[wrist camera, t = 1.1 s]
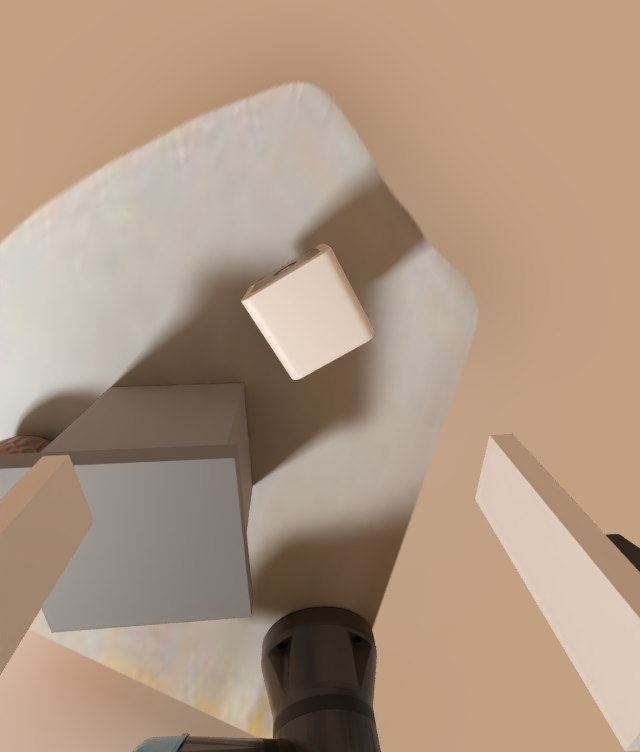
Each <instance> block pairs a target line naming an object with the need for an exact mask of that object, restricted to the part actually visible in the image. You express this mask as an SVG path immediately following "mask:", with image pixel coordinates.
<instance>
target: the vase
mask: <svg viewBox="0 0 640 752" xmlns="http://www.w3.org/2000/svg"><path fill="white" fill-rule="evenodd" d="M50 443H51V441H49V440H46V439H44V438H41V437H36V436H17V437H12V438H9V439H6V440H3V441H0V455H1V454H20V453H40V452H41V451H42V450H43V449H45V448H46V447H47V446H48V445H49V444H50Z"/></svg>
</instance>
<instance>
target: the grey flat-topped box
mask: <svg viewBox="0 0 640 752" xmlns="http://www.w3.org/2000/svg"><path fill="white" fill-rule="evenodd" d="M56 455H69V456H70V459H71V461H72V464H73V466H74V469H75V472H76V474H77V477H78V479H79V482H80V485H81V487H82V490H83V492H84V495H85V498H86V500H87V503H88V505H89V508H90V510H91V513H92V516H93V518H94V522H93V524H92V525H91V527H90V529H89V530H88V532H87V534H86V535H85V537H84V539H83V540H82V542H81V543H80V545H79V547H78V548H77V550H76V552H75V553H74V555H73V557H72V558H71V560H70V561H69V563H68V565H67V566H66V568H65V570H64V571H63V573H62V575H61V576H60V578H59V580H58V581H57V583H56V584H55V586H54V588H53V589H52V591H51V593H50V594H49V596H48V598H47V599H46V601H45V602H44V604H43V606H42V607H41V608H42V611H43V613H44V615H45V618H46V620H47V622H48V625H49V627H50V629H51V632H52V633H53V632H65V631H78V630H91V629H104V628H116V627H129V626H142V625H155V624H167V623H180V622H193V621H206V620H218V619H231V618H244V617H251V614H252V603H253V593H252V583H251V573H250V563H249V553H248V543H247V533H246V532H247V525H248V517H249V510H250V502H251V495H252V487H253V485H252V474H251V462H250V450H249V439H248V427H247V415H246V404H245V392H244V383H224V384H192V385H160V386H128V387H110V388H109V389H108V390H107V391H106V392H105V393H104V394H103V395H102V396H101V397H99V398H98V399H97V400H96V401H95V402H94V403H93V404H92V405H91V406H90V407H89V408H88V409H87V410H85V411H84V412H83V413H82V414H81V415H80V416H79V417H78V418H77V419H76V420H75V421H74V422H73V423H71V424H70V425H69V426H68V427H67V428H66V429H65V430H64V431H63V432H62V433H61V434H60V435H59V436H57V437H56V438H55V439H54V440H53V441H52V442H51V443H50V444H49V445H48V446H47V447H46V448H45V449H43V450H42V451H41V452H40V453H20V454H1V455H0V500H1V499H2V498H3V497H4V496H5V495H6V494H7V493H8V492H9V491H10V490H11V489H12V488H13V487H14V486H15V485H16V484H17V483H18V481H19V480H20V479H21V478H22V477H23V476H24V475H25V474H26V473H27V472H28V471H29V470H30V469H31V468H32V467H33V466H34V465H35V464H36V463H37V462H38V461H39V460H40V459H41V457H42V456H56Z"/></svg>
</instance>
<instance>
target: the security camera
mask: <svg viewBox="0 0 640 752" xmlns="http://www.w3.org/2000/svg"><path fill="white" fill-rule="evenodd" d="M241 302H242V304H243V305H244V307H245V308H246V310H247V311H248V313H249V314H250V316H251V317H252V319H253V320H254V322H255V323H256V325H257V326H258V328H259V329H260V331H261V333H262V334H263V336H264V337H265V339H266V340H267V342H268V343H269V345H270V346H271V348H272V349H273V351H274V352H275V354H276V355H277V357H278V358H279V360H280V361H281V363H282V365H283V366H284V368H285V369H286V371H287V372H288V374H289V375H290V377H291V378H292V380H298V379H301V378H303V377H304V376H306V375H308V374H310V373H312V372H314V371H315V370H317V369H319V368H321V367H323V366H324V365H326V364H328V363H330V362H332V361H333V360H335V359H337V358H339V357H341V356H342V355H344V354H346V353H348V352H350V351H351V350H353V349H355V348H357V347H359V346H360V345H362V344H364V343H366V342H368V341H369V340H371V339H372V338H373V337H374V336H375V331H374V329H373V327H372V325H371V323H370V321H369V319H368V317H367V316H366V314H365V312H364V310H363V308H362V306H361V304H360V302H359V300H358V298H357V296H356V294H355V292H354V290H353V289H352V287H351V285H350V283H349V281H348V279H347V277H346V275H345V273H344V271H343V269H342V267H341V265H340V263H339V261H338V260H337V258H336V256H335V254H334V252H333V250H332V248H331V247H329V246H328V245H326V244H324V243H322V244H320V245H318V246H316V247H314V248H312V249H310V250H309V251H307V252H305V253H304V254H302V255H300V256H299V257H297V258H295V259H294V260H292V261H291V262H289V263H287V264H286V265H284V266H282V267H281V268H279V269H277V270H276V271H274V272H272V273H271V274H269V275H267V276H266V277H264V278H262V279H261V280H259V281H258V282H256V283H255V284H253V285H252V286H251V287H249V289H248V290H247V292H246V294H245V296H244V297H243V299H242V301H241Z"/></svg>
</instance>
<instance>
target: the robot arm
mask: <svg viewBox="0 0 640 752" xmlns="http://www.w3.org/2000/svg"><path fill="white" fill-rule="evenodd" d="M475 501H476V502H477V504H478V506H479V507H480V509H481V511H482V512H483V514H484V516H485V517H486V519H487V521H488V522H489V524H490V525H491V527H492V529H493V531H494V532H495V534H496V536H497V537H498V539H499V541H500V542H501V544H502V546H503V547H504V549H505V551H506V552H507V554H508V556H509V557H510V559H511V561H512V563H513V564H514V566H515V568H516V569H517V571H518V573H519V574H520V576H521V578H522V579H523V581H524V583H525V584H526V586H527V588H528V589H529V591H530V593H531V594H532V596H533V598H534V599H535V601H536V603H537V604H538V606H539V608H540V609H541V611H542V613H543V614H544V616H545V618H546V619H547V621H548V623H549V625H550V626H551V628H552V630H553V631H554V633H555V635H556V636H557V638H558V639H559V641H560V643H561V645H562V646H563V648H564V650H565V651H566V653H567V655H568V656H569V658H570V660H571V661H572V663H573V664H574V666H575V668H576V670H577V671H578V673H579V675H580V676H581V678H582V680H583V681H584V683H585V685H586V686H587V688H588V690H589V691H590V693H591V695H592V696H593V698H594V700H595V702H596V703H597V705H598V707H599V708H600V710H601V712H602V713H603V715H604V717H605V718H606V720H607V722H608V723H609V725H610V727H611V728H612V730H613V732H614V733H615V735H616V737H617V738H618V740H619V742H620V743H621V745H622V747H623V748H624V750H625V751H635V750H640V548H639V547H637V546H636V545H634V544H633V543H631V542H630V541H628V540H627V539H625V538H624V537H622V536H621V535H619V534H610V535H605V534H604V533H603V532H602V531H601V530H600V529H599V528H598V526H597V525H596V524H595V523H594V522H593V521H592V520H591V519H590V518H589V517H588V515H587V514H586V513H585V512H584V511H583V510H582V509H581V508H580V507H579V506H578V505H577V504H576V502H575V501H573V499H572V498H571V497H570V496H569V495H568V494H567V493H566V492H565V490H564V489H563V488H562V487H561V486H560V485H559V484H558V483H557V482H556V481H555V480H554V479H553V477H552V476H551V475H550V474H549V473H548V472H547V471H546V470H545V469H544V468H543V466H542V465H540V463H539V462H538V461H537V460H536V459H535V458H534V457H533V456H532V455H531V453H530V452H529V451H528V450H527V449H526V448H525V447H524V446H523V445H522V444H521V443H520V441H518V439H517V438H516V437H515V436H514V435H513V434H504V435H490V436H489V441H488V445H487V449H486V454H485V458H484V462H483V466H482V471H481V475H480V479H479V483H478V487H477V491H476V496H475ZM93 522H94V518H93V516H92V513H91V510H90V508H89V505H88V503H87V500H86V498H85V495H84V492H83V490H82V487H81V485H80V482H79V479H78V477H77V474H76V472H75V469H74V466H73V464H72V461H71V459H70V456H69V455H56V456H42V457H41V459H40V460H39V461H38V462H37V463H36V464H35V465H34V466H33V467H32V468H31V469H30V470H29V471H28V472H27V473H26V474H25V475H24V476H23V477H22V478H21V479H20V480H19V481H18V483H17V484H16V485H15V486H14V487H13V488H12V489H11V490H10V491H9V492H8V493H7V494H6V495H5V496H4V497H3V498H2V499H1V500H0V674H1V673H2V671H3V670H4V668H5V666H6V665H7V663H8V661H9V660H10V658H11V657H12V655H13V653H14V652H15V650H16V648H17V647H18V645H19V643H20V642H21V640H22V639H23V637H24V635H25V634H26V632H27V630H28V629H29V627H30V625H31V624H32V622H33V620H34V619H35V617H36V616H37V614H38V612H39V611H40V609H41V607H42V606H43V604H44V602H45V601H46V599H47V598H48V596H49V594H50V593H51V591H52V589H53V588H54V586H55V584H56V583H57V581H58V580H59V578H60V576H61V575H62V573H63V571H64V570H65V568H66V566H67V565H68V563H69V561H70V560H71V558H72V557H73V555H74V553H75V552H76V550H77V548H78V547H79V545H80V543H81V542H82V540H83V539H84V537H85V535H86V534H87V532H88V530H89V529H90V527H91V525H92V524H93ZM376 659H377V653H376V646H375V641H374V636H373V632H372V629H371V628H370V626H369V624H368V623H367V622H366V621H365V620H364V619H363V618H361V617H360V616H358V615H356V614H354V613H352V612H349V611H346V610H343V609H338V608H312V609H307V610H303V611H299V612H296V613H294V614H291V615H289V616H287V617H285V618H283V619H282V620H280V621H279V622H277V623H276V624H275V625H274V626H273V627H272V628H271V629H270V630H269V631H268V633H267V634H266V636H265V638H264V641H263V645H262V660H261V666H262V673H263V677H264V681H265V686H266V690H267V694H268V698H269V703H270V707H271V711H272V715H273V739H263V738H224V737H196V736H189V734H188V733H184V734H183V735H182V736H170V737H152V738H149V739H146V740H145V741H143V742H142V743H140V744H139V745H138V746H137V747H136V748H135V749H134V751H133V752H381V751H380V745H379V739H378V734H377V729H376V723H375V717H374V711H373V698H374V684H375V673H376Z"/></svg>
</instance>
